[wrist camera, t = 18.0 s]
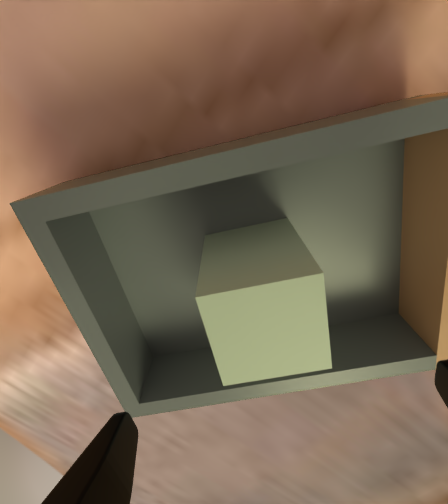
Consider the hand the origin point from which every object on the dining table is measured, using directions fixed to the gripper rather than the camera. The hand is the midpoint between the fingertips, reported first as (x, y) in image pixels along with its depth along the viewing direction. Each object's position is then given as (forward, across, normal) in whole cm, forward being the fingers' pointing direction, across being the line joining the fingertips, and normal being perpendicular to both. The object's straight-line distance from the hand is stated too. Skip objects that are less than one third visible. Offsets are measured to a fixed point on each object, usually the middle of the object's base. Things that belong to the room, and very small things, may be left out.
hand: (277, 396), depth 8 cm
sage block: (+9, 0, 0) cm, 9 cm away
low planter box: (+10, 0, 0) cm, 10 cm away
